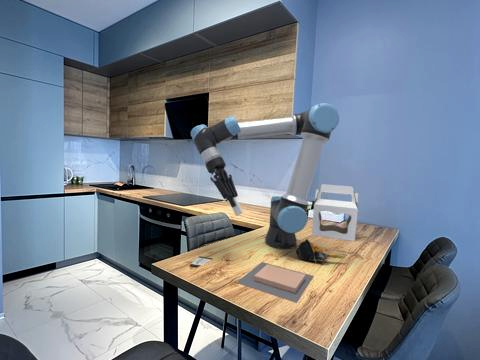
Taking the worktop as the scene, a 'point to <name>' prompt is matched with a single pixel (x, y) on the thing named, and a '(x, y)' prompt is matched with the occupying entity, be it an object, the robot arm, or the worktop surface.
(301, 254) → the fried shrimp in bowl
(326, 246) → the worktop surface
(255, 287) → the mat
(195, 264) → the chocolate bar
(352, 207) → the gable box
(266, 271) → the tile
